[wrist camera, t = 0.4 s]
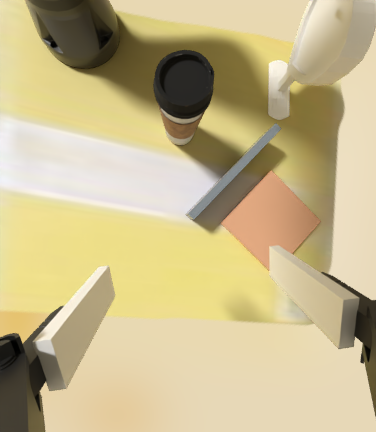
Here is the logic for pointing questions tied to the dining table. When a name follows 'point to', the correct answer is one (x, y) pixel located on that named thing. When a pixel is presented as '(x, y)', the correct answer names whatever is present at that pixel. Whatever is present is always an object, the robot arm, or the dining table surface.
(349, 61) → the heart sculpture
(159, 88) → the coffee cup
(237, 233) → the terracotta tile
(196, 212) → the gray rectangular board
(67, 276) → the dining table surface
